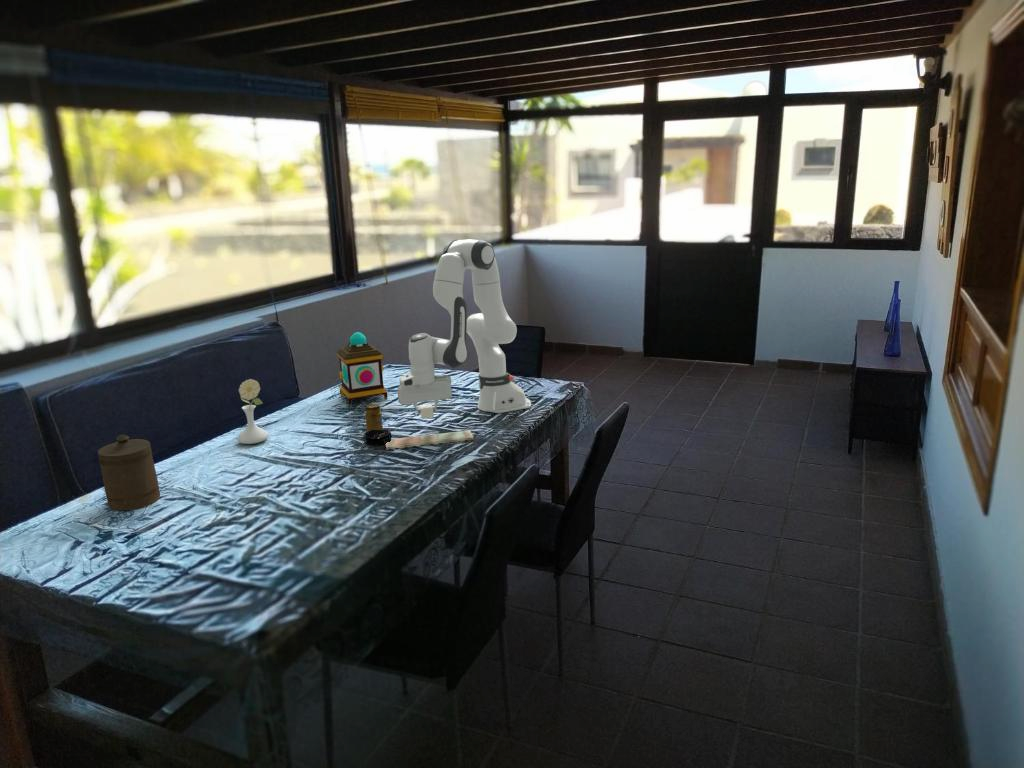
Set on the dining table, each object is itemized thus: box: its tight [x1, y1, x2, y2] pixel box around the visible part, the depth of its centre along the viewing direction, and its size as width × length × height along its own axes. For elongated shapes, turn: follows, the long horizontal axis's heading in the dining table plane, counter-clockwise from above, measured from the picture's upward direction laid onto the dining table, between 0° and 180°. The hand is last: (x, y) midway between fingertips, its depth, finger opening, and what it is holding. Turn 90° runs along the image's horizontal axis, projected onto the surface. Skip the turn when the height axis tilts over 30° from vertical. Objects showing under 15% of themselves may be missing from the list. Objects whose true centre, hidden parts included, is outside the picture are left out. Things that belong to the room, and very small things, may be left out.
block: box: [419, 403, 435, 420], centre depth 282 cm, size 4×4×4 cm
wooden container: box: [97, 434, 161, 512], centre depth 232 cm, size 15×15×22 cm
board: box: [385, 429, 475, 451], centre depth 275 cm, size 32×8×1 cm, turn 103°
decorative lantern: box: [336, 331, 388, 406], centre depth 327 cm, size 20×20×30 cm
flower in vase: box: [236, 378, 270, 445], centre depth 279 cm, size 13×11×25 cm
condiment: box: [362, 403, 384, 437], centre depth 281 cm, size 7×8×12 cm
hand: (426, 411), depth 282 cm, fingers closed on block, 4 cm apart
